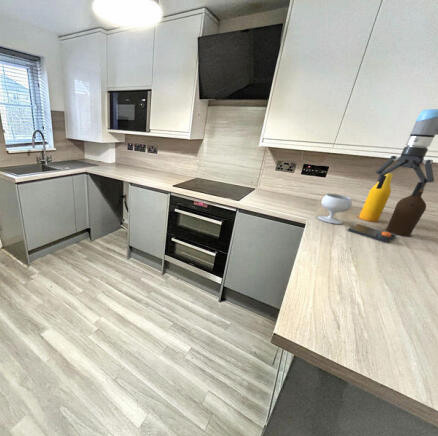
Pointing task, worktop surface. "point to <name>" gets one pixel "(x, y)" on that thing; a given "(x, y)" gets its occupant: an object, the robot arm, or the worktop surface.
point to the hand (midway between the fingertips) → (395, 192)
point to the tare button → (386, 234)
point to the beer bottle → (376, 201)
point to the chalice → (335, 206)
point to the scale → (371, 233)
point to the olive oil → (407, 215)
